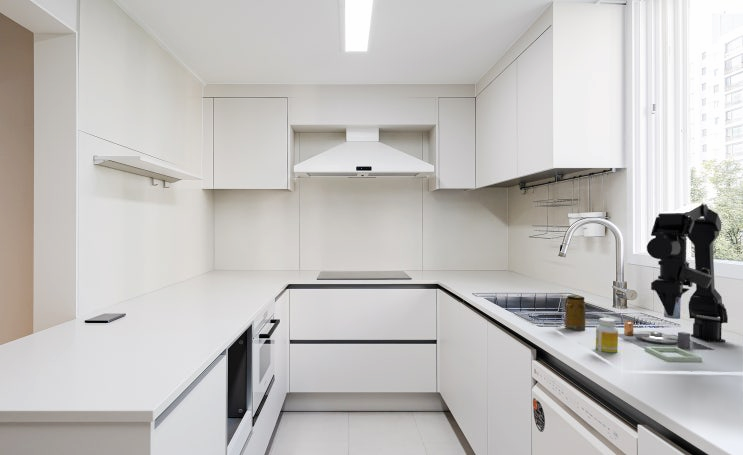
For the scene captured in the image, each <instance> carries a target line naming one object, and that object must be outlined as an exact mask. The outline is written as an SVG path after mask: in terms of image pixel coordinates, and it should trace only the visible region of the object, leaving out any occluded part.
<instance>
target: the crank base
mask: <svg viewBox="0 0 743 455" xmlns="http://www.w3.org/2000/svg"><path fill="white" fill-rule="evenodd" d="M671 335H672V336H675V337H677V338H678V343H673V344H666V343H656V342H650V341H646V340H642V339H639V338H637V337H636V336H632V337H630V336H625V335H624V333H618V338H621V339H623V340H624V341H627V342H629V343H632V344H633V345H635V346H637V347H640V348H642V349H644V350H645V347H677V348H680V349H682V350H684V351H688V350H689V351H690V350H692V351H693V350H695V351H703V350H704V351H715V349H714V348H711V347H709V346H706V345H703V344H700V343H698V342H695V341H692V340H691V336H690V335H691V333H688V332H685V331H678V332H677V334H671Z"/></svg>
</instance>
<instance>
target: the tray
mask: <svg viewBox="0 0 743 455" xmlns="http://www.w3.org/2000/svg"><path fill="white" fill-rule="evenodd" d="M644 351H645V352H647V353H649V354H651V355H653V356H655V357H658V358H659V359H662V360H663V361H666V362H697V363H698V362H699V363H700V362H702V360H703V357H702V356H699V355H696V354H695V353H692V352H690V351H688V350H685V349H680V348H677V347H645V349H644ZM662 352H664V353H666V352H670V353H678V354H679V355H680V356H675V355H672V356H671V355H670V356H668V355H666V354H664V353H662ZM681 355H682V356H681Z"/></svg>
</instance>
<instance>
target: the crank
mask: <svg viewBox="0 0 743 455" xmlns="http://www.w3.org/2000/svg"><path fill="white" fill-rule="evenodd" d="M623 324H624V327H623V328H624V332H623V334H624V335H625V336H630V337H632V336H636V337H637V338H639V339H642V340H646V341H650V342H656V343H666V344H673V343H678V338H677V337H675V336H672V335H673V334H669V333H664V332H661V331H655V330H654V331H653V330H652V331H648V330H647V331H646V330H642V331H641V330H640V331H634V326H635V325H634V322H631V321H624V323H623Z"/></svg>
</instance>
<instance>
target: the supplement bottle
mask: <svg viewBox="0 0 743 455" xmlns="http://www.w3.org/2000/svg"><path fill="white" fill-rule="evenodd" d="M598 319H599V320H598V323H599V324H598V325H597V326H596V330H595V351H597V352H600V353H604V354H605V353H606V354H617V353H618V350H619V348H618V346H619V345H618V344H619V343H618V342H619V337H618V334H619V329H618V328H617V327H616V322H617V321H616V319H615V318H610V317H609V318H608V317H600V318H598Z"/></svg>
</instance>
